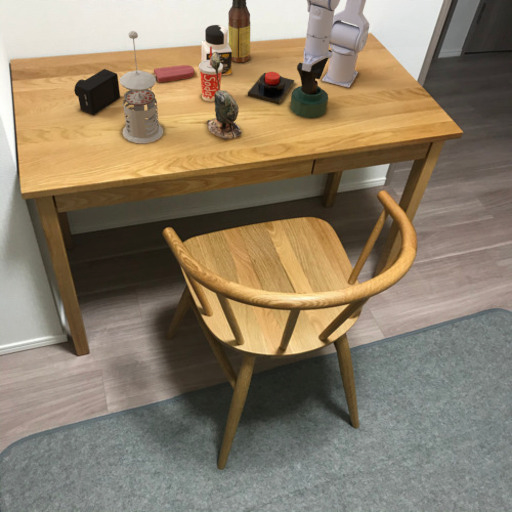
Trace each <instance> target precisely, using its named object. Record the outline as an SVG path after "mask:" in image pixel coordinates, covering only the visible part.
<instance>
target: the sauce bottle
mask: <svg viewBox="0 0 512 512" xmlns="http://www.w3.org/2000/svg"><path fill="white" fill-rule="evenodd" d="M227 16H228V23H227V27H228V28H227V30H228V44H229V46H230V48H231V50H232V62H235V63H245V62H247V61H249V60H250V57H251V13H250V11H249V8H248V6H247V0H232V2H231V7H230V8H229V10H228V15H227Z"/></svg>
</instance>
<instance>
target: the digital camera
mask: <svg viewBox="0 0 512 512" xmlns="http://www.w3.org/2000/svg"><path fill="white" fill-rule="evenodd" d="M119 83H120V82H119V76H118V73H117V72H114V71H111V70H109V69H106V68H103V69H101V70H100V71H98V72H96V73H95V74H92V75H91V76H90V77H88V78H86V79H82V78H81V79H79V80H78V81H76V83H75V85H74V90H73V91H74V95H75V96H76V97H77V98H78V103H79V108H80V111H82V112H83V113H86V114H89V115H91V116H95V115H97V114H98V113H100V112H101V111H103V110H104V109H106V108H107V107H108V106H110V105H112V104H113V103H114V102H115V103H116V102H117V101H118V100H119V99H121V92H120V84H119Z"/></svg>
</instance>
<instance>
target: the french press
mask: <svg viewBox="0 0 512 512" xmlns="http://www.w3.org/2000/svg"><path fill="white" fill-rule="evenodd" d="M138 37H139V36H138V33H137V31H135V30H131V31H129V33H128V38H129V39H131V40H132V44H133V51H134V53H133V54H134V61H135V70H132V71H128V72H125V73H124V74H123V75H122V76H120V78H119V80H118V83H120V85H121V86H122V87H123V88H124V89H126V90H127V91H126V92H125V93H124V94H123V100H122V107H123V113H124V121H125V122H124V123H125V126H124V127H123V129H122V135H123V137H124V139H126V140H127V141H129V142H130V143H131V142H132V143H135V144H149V143H153V142H155V141H158V140H159V139H160V138H161V137H162V136H163V135H164V128H163V126H162V125H160V123H159V112H158V109H159V108H158V101H157V99H156V94H155V93H154V91H153V90H152V89H153V87H155V85H156V82H157V78H156V77H154V74H152V73H150V72H148V71H144V70H139V69H138V65H137V55H136V46H135V45H136V44H135V39H138ZM128 106H130V107H128ZM131 106H132V107H131ZM145 106H146V107H147V108H146V109H145Z"/></svg>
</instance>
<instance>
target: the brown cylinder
mask: <svg viewBox="0 0 512 512" xmlns="http://www.w3.org/2000/svg"><path fill="white" fill-rule="evenodd" d="M318 84H319V82H318V81H317V79H315V82H314V85H313V88H312V91H311V93H306V92H305V94H309V95H316V92H317V86H319V85H318Z"/></svg>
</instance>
